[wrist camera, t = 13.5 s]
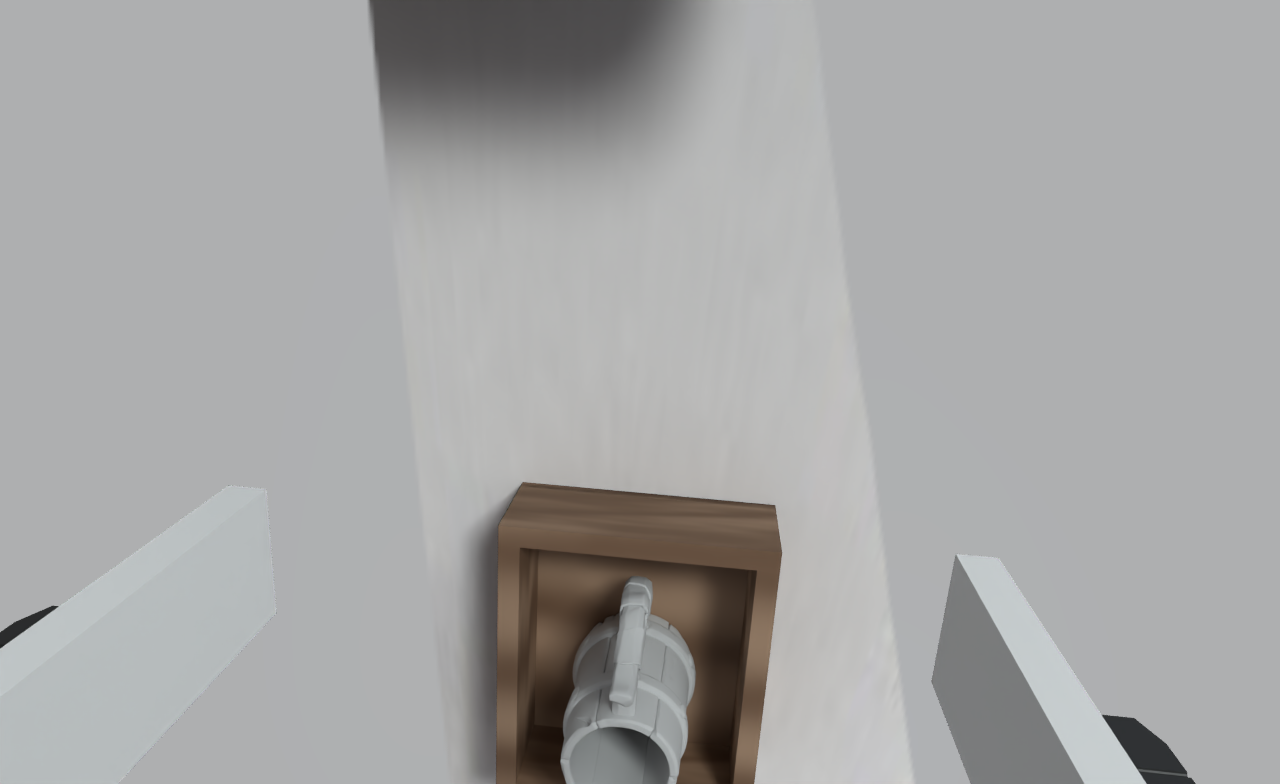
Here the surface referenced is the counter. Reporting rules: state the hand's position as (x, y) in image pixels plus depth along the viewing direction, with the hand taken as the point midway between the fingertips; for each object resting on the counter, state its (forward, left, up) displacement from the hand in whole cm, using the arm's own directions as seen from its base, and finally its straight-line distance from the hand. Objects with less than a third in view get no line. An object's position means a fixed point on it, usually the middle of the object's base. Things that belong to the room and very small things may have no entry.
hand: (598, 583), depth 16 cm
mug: (+22, -1, -32) cm, 39 cm away
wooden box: (+22, -1, -33) cm, 39 cm away
